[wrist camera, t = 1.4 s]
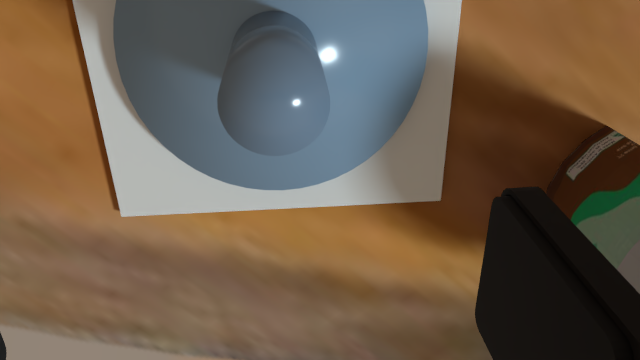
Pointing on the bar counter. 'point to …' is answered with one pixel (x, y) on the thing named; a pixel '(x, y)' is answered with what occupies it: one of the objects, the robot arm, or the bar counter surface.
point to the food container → (604, 197)
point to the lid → (271, 82)
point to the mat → (216, 196)
